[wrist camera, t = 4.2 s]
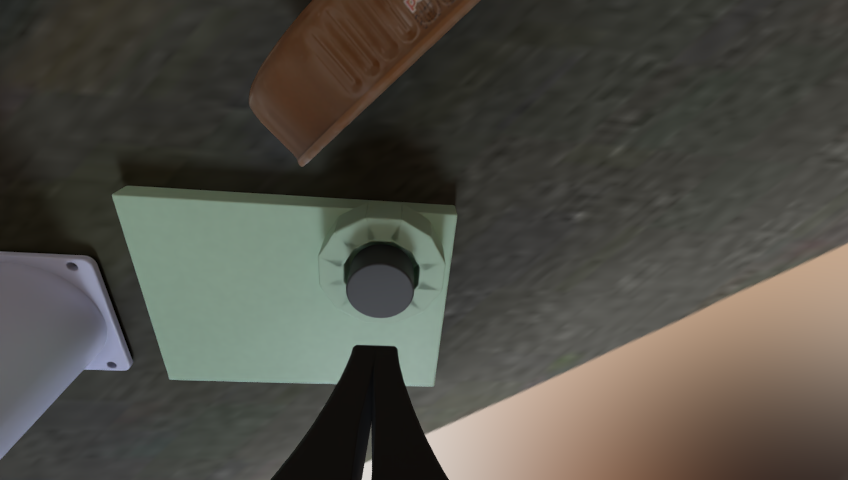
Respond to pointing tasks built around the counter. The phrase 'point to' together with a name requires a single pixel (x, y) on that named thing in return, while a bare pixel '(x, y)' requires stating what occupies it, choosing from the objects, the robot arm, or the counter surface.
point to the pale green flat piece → (280, 281)
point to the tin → (342, 64)
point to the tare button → (380, 281)
